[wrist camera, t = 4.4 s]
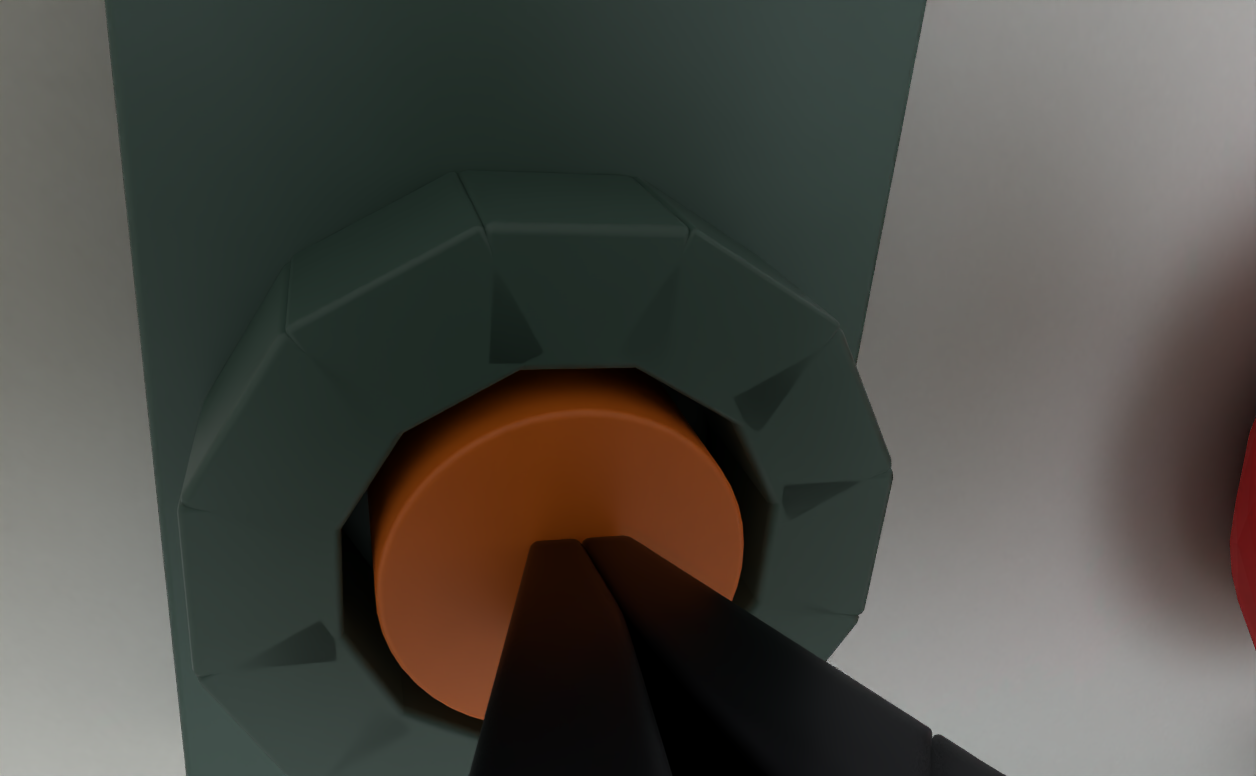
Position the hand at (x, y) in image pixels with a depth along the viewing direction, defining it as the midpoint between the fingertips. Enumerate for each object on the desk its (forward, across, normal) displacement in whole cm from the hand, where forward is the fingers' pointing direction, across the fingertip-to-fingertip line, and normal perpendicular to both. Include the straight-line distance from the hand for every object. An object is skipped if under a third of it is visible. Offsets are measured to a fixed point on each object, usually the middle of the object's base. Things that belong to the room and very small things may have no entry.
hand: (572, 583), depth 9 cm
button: (+2, 0, 0) cm, 2 cm away
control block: (+4, 0, 0) cm, 4 cm away
